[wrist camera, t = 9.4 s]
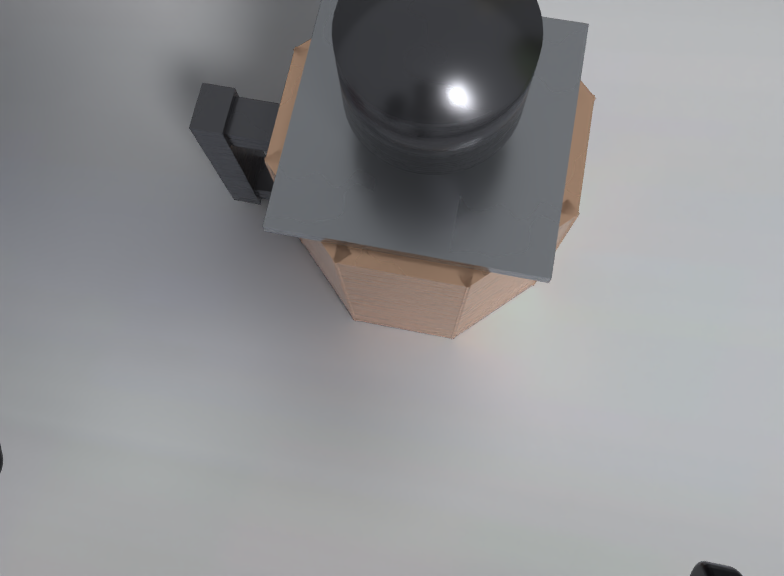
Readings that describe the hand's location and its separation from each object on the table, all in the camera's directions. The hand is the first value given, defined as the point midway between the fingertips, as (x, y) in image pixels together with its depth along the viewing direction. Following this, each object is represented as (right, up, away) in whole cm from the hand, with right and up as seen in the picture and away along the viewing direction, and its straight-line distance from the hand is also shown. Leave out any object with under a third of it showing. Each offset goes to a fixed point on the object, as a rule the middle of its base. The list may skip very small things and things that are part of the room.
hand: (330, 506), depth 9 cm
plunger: (+2, +5, +11) cm, 12 cm away
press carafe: (+1, +5, +12) cm, 13 cm away
